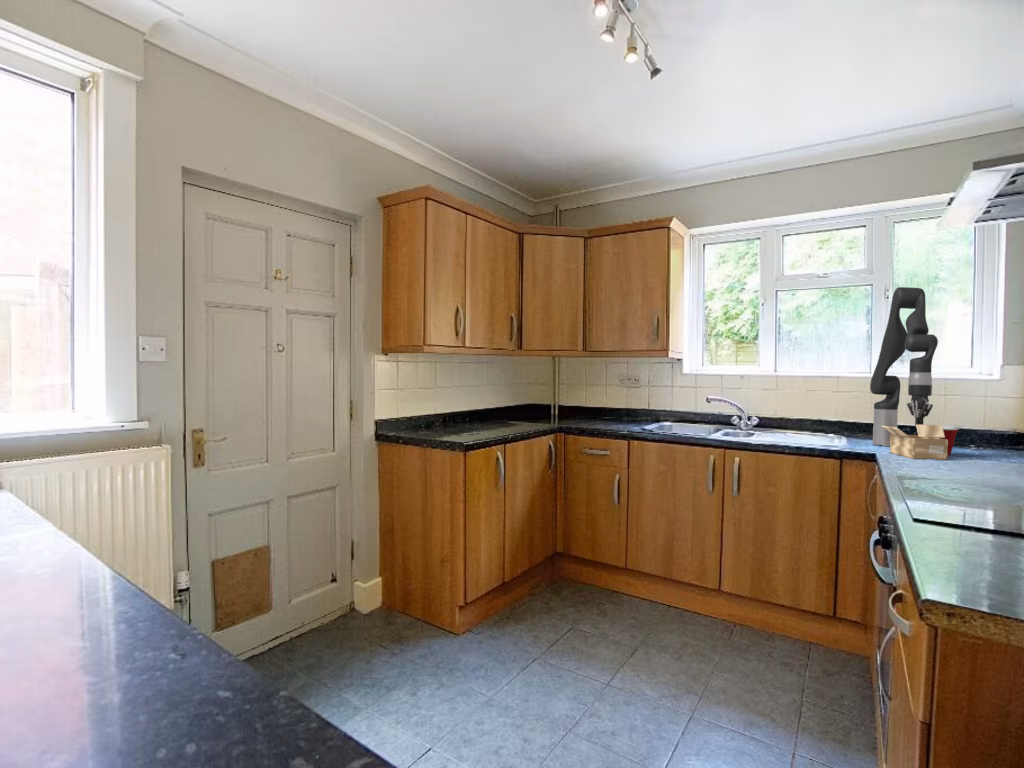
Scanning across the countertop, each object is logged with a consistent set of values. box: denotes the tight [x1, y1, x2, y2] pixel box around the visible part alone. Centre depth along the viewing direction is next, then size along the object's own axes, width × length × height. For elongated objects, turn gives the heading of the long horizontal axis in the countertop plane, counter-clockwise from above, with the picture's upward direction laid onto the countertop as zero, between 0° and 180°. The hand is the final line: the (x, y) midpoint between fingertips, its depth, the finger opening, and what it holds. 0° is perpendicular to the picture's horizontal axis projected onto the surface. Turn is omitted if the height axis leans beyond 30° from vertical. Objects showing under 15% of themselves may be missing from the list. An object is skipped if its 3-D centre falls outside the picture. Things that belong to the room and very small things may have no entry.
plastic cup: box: [935, 424, 960, 457], centre depth 221 cm, size 11×11×12 cm
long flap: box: [882, 426, 909, 437], centre depth 214 cm, size 11×5×1 cm
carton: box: [889, 434, 948, 461], centre depth 213 cm, size 16×12×8 cm
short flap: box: [915, 424, 945, 438], centre depth 206 cm, size 9×5×1 cm
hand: (919, 426), depth 213 cm, fingers closed
